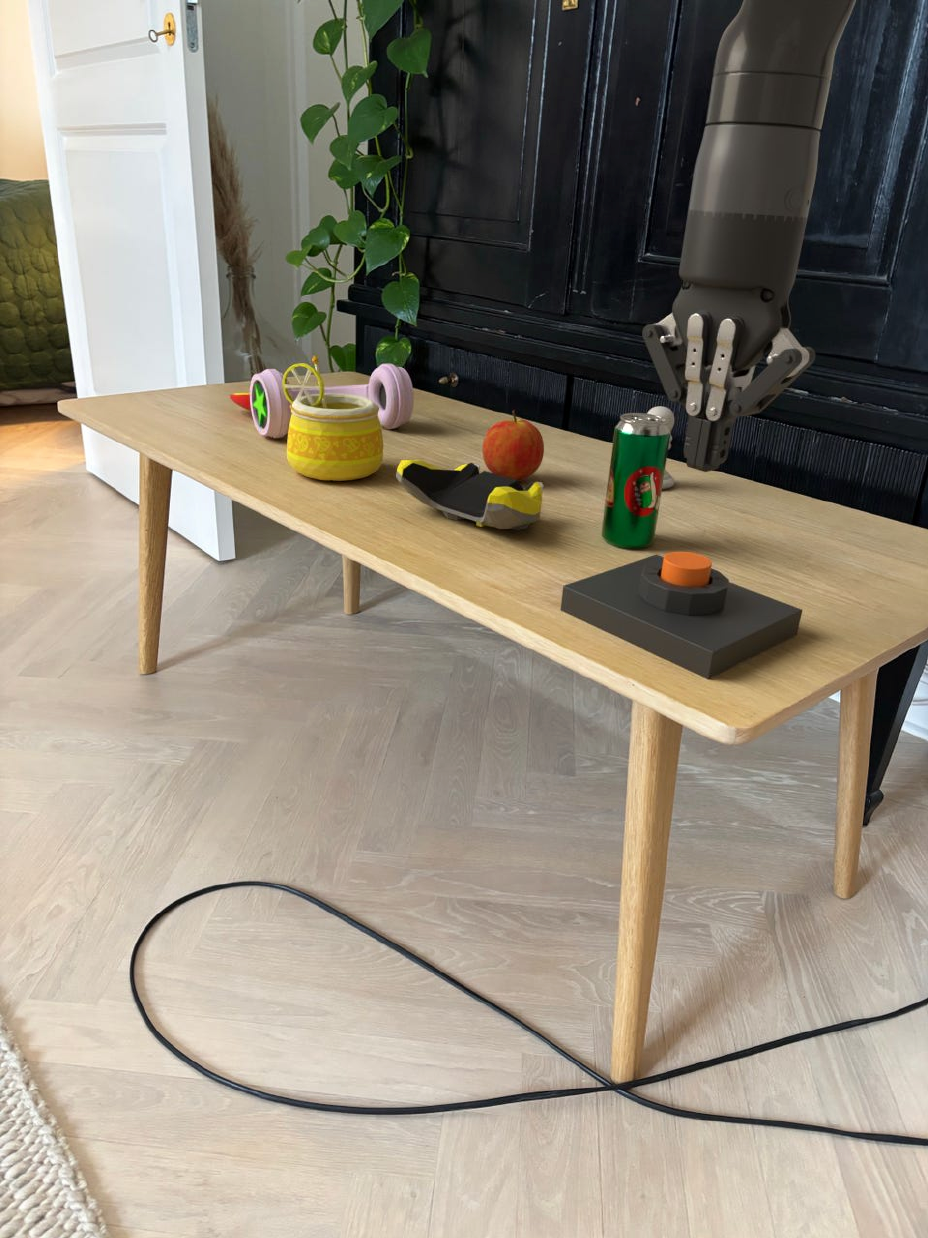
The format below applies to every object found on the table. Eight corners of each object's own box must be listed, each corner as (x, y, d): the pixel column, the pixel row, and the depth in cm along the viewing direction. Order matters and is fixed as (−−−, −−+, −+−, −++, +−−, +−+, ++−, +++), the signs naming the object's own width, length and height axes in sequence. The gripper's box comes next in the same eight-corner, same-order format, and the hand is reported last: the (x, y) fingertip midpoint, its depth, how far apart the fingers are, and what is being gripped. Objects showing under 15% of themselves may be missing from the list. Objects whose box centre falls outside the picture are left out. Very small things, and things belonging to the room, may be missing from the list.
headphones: (271, 382, 108) (220, 334, 122) (270, 459, 113) (222, 405, 127) (418, 374, 117) (355, 331, 132) (411, 446, 123) (352, 397, 137)
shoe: (501, 552, 83) (564, 528, 90) (505, 494, 81) (569, 474, 88) (386, 511, 92) (451, 492, 99) (386, 458, 90) (453, 442, 97)
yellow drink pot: (400, 479, 102) (403, 370, 97) (308, 490, 97) (306, 376, 92) (353, 451, 112) (353, 351, 107) (267, 459, 107) (263, 354, 102)
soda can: (608, 529, 91) (623, 409, 86) (658, 538, 89) (677, 416, 84) (594, 545, 86) (610, 419, 81) (647, 555, 85) (666, 427, 80)
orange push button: (717, 583, 70) (721, 561, 69) (689, 594, 68) (693, 572, 67) (679, 568, 72) (682, 547, 72) (651, 578, 70) (654, 557, 69)
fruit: (529, 470, 108) (535, 402, 105) (549, 487, 102) (556, 417, 99) (473, 471, 107) (477, 403, 103) (491, 489, 101) (495, 417, 97)
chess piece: (672, 493, 103) (685, 413, 99) (625, 487, 104) (636, 408, 100) (674, 480, 108) (686, 404, 104) (629, 474, 109) (639, 399, 105)
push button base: (797, 635, 71) (808, 588, 69) (707, 680, 63) (717, 628, 62) (652, 577, 80) (659, 534, 78) (560, 610, 72) (565, 564, 71)
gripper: (873, 216, 57) (811, 483, 64) (697, 204, 66) (660, 441, 73) (812, 212, 52) (753, 501, 60) (631, 200, 61) (599, 453, 68)
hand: (702, 467), depth 66 cm, fingers closed
